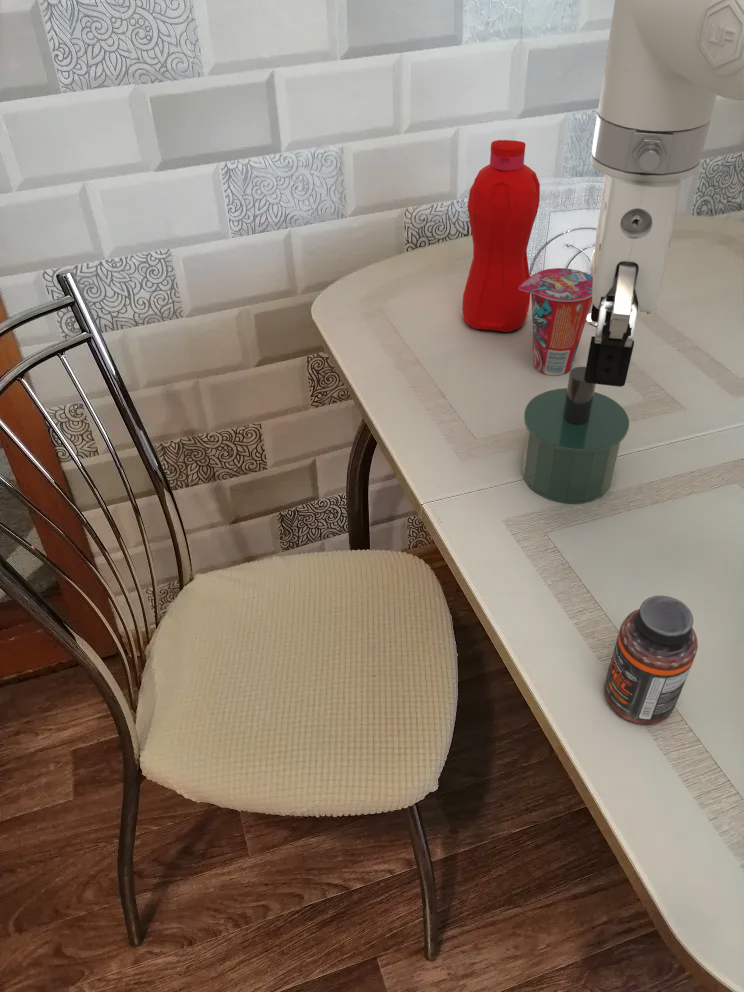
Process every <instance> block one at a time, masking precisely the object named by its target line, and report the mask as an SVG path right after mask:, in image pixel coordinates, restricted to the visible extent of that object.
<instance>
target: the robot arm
mask: <svg viewBox="0 0 744 992" xmlns="http://www.w3.org/2000/svg"><path fill="white" fill-rule="evenodd" d="M613 3H614V4H613V11H612V18H611V23H610V30H609V36H608V42H607V49H606V56H605V61H604V68H603V75H602V81H601V88H600V90H601V91H600V95H599V101H598V109H597V114H596V121H595V127H594V133H593V140H592V146H591V152H590V159H589V160H590V162H589V163H590V164H591V166H592V167H593V168H594V169H595V170H596V171H598V172H600V173H601V174H603V175H604V177H603V185H602V191H601V197H600V204H599V210H598V217H597V224H596V230H595V231H596V233H595V241H594V248H595V250H594V249H593V250H594V265H593V290H592V304H591V311H590V313H591V320H592V321H594V322H597V326H596V329H595V335H594V336H593V335H592V336H591V338H590V343H589V348H588V353H587V354H588V355H587V359H586V363H585V364H586V365H585V367H586V370H585V376H584V380H585V382H587V383H592V384H596V385H601V386H610V387H619V388H621V387H624V386H625V384H626V381H627V377H628V373H629V368H630V364H631V360H632V356H633V351H634V346H635V340H634V335H635V328H636V323H637V315H638V310H639V312H640V313H646V314H647V315H652V314H653V313H655V311H657V309H658V305H659V299H660V295H661V289H662V285H663V279H664V275H665V269H666V265H667V260H668V256H669V252H670V247H671V241H672V237H673V231H674V226H675V222H676V217H677V216H676V215H677V212H678V206H679V200H680V192H681V185H682V180H686V179H687V178H691V177H692V176H693V175H695V174H696V173H697V172H698V171H699V169H700V165H701V161H702V160H701V159H702V157H703V153H704V148H705V144H706V140H707V136H708V132H709V128H710V123H711V121H712V117H713V112H714V108H715V103H716V100H717V96H719V97H722V98H725V99H729V100H733V101H744V0H614V2H613ZM605 323H606V324H605Z"/></svg>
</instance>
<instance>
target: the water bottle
mask: <svg viewBox="0 0 744 992" xmlns="http://www.w3.org/2000/svg"><path fill="white" fill-rule="evenodd" d="M526 145H527V144H526V143H525V142H524V141H519V140H513V139H511V140H510V139H498V140H493V141H492V142H491V143H490V158H489V164H487V165H485V166H483V167H482V168H481V169H480V170H479V171H478V173H477V175H476V176H475V178H474V181H473V184H472V185H471V187H470V189H469V193H468V200H467V213H468V219H469V226H470V232H471V238H472V246H473V247H472V248H473V250H472V261H471V265H470V268H469V271H468V276H467V279H466V283H465V287H464V291H463V294H462V305H461V306H462V308H461V310H462V316H463V320H464V322H465V324H467V325H468V326H469V327H471V328H473V329H477V330H487V331H495V332H505V333H509V332H512V331H515V330H517V329H519V328H521V327H522V326H523V325H524V324H525V322H526V320H527V318H528V317H527V316H528V312H529V309H530V303H531V293H530V292H526V291H522V290H519V286H520V285H521V284H522V283H523V282H525V281H526V280H527V279H528V278H530V277H531V275H530V269H529V260H528V252H527V250H528V246H529V242H530V239H531V234H532V230H533V227H534V224H535V221H536V218H537V215H538V211H539V207H540V201H541V199H540V198H541V197H540V195H541V184H540V181H539V179H538V176H537V173H536V171H534V170H533V169H532V168H531V167H529V166H528V165H526V164H525V156H526Z"/></svg>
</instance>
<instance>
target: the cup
mask: <svg viewBox="0 0 744 992" xmlns="http://www.w3.org/2000/svg"><path fill="white" fill-rule="evenodd" d="M519 290H522V291H526V292H530V301H531V323H532V325H531V326H532V360H533V362H532V363H533V367H534V369H535V370H537V371H538V372H539V373H541V374H544V375H546V376H562V375H566V374H568V373H570V371H571V370H572V369H573V365H574V361H575V357H576V354H577V351H578V349H579V348H578V347H579V344H580V342H581V338H582V335H583V331H584V329H585V325H586V322H587V320H586V319H587V316H588V314H590V313H589V312H590V309H591V308H592V305H593V304H592V290H593V277H592V276H591V274H589V273H587V272H585V271H581V270H578V269H572V268H566V267H565V268H563V267H553V268H548V269H543V270H540V271H538V272H535V273H534V274H533V275H530V278H528V279H527V280H526V281H525V282H523V283H522V284H521V285H520V286H519Z"/></svg>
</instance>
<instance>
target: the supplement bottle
mask: <svg viewBox="0 0 744 992" xmlns="http://www.w3.org/2000/svg"><path fill="white" fill-rule="evenodd" d="M693 625H694V615H693V612H692V611H691V609H690V608H689V607H688V606H687V604H685V603H684V602H682V600H679V599H677V598H675V597H672V596H669V595H662V594H661V595H653V596H649V597H648V598H646V599H644V601H643V602H641V604H640V607H639V608H638V609H635V610H633V611H632V612H630V613H629V614H628V615H627V616H626V617H625V618H624V620H623V621H622V622H621V625H620V628H619V631H618V635H617V638H616V642H615V644H614V648H613V652H612V655H611V659H610V662H609V666H608V668H607V669H608V670H607V672H606V675H605V681H604V688H603V689H604V696H605V699H606V701H607V704H608V705H609V706H610V708H611V709H612V710H613V711H614V712H615V713H616V714H617V715H618V716H620V717H621V718H623V719H625V720H626V721H628V722H631V723H634V724H638V725H645V726H646V725H648V726H649V725H655V724H658V723H661V722H663V721H665V720H666V719H667V718H668V717H670V715H671V714H672V713H673V711H674V709H675V707H676V706H677V702H678V700H679V697H680V695H681V693H682V690H683V688H684V685H685V683H686V680H687V678H688V676H689V673H690V671H691V668H692V665H693V663H694V661H695V658H696V655H697V652H698V647H699V644H698V643H699V642H698V637H697V634H696V632H695V630H694V627H693Z"/></svg>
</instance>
